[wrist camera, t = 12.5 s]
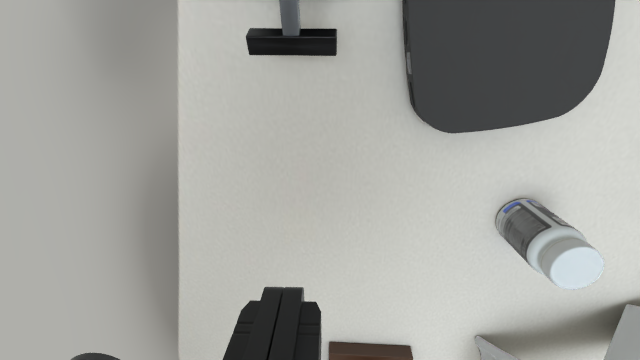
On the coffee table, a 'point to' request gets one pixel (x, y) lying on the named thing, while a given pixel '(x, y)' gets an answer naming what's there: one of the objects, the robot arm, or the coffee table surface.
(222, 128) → the coffee table surface
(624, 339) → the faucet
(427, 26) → the media streaming box
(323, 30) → the lever
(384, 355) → the button box
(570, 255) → the pill bottle
